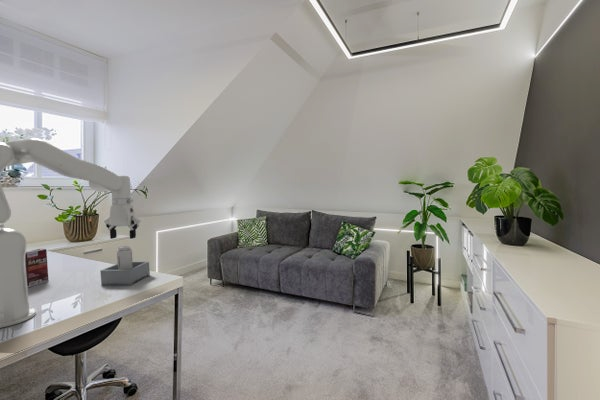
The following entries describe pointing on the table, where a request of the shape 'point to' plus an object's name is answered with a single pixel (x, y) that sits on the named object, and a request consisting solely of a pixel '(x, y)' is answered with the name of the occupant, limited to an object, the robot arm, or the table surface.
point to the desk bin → (124, 274)
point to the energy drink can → (124, 258)
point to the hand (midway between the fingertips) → (123, 238)
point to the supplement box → (36, 267)
